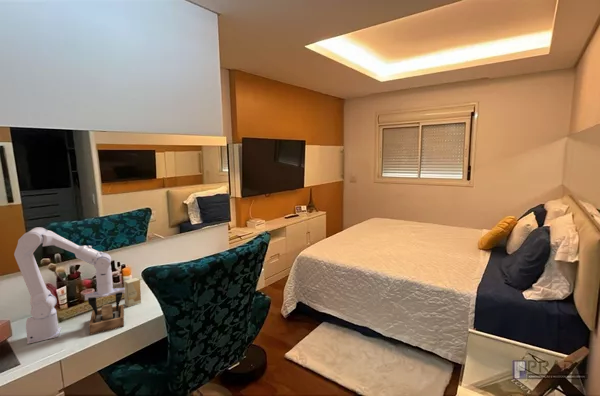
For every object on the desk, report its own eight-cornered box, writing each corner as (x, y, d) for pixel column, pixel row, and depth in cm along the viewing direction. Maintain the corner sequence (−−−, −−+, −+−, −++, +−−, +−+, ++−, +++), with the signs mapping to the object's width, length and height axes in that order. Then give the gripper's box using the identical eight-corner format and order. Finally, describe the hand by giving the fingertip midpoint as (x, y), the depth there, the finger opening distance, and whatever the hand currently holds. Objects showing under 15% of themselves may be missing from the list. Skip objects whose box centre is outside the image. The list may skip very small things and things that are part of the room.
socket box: (89, 334, 124) (89, 325, 123) (93, 319, 136) (92, 310, 135) (123, 326, 130) (123, 317, 129) (124, 312, 142) (123, 304, 141)
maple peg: (102, 324, 130) (101, 309, 129) (102, 320, 134) (101, 305, 133) (113, 322, 132) (112, 306, 131) (113, 318, 136) (112, 303, 135)
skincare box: (128, 307, 147) (126, 283, 145) (124, 304, 149) (122, 281, 148) (142, 302, 152) (140, 279, 150) (137, 300, 155) (136, 277, 153)
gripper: (83, 288, 124) (85, 320, 125) (124, 281, 131) (126, 311, 132) (85, 282, 130) (87, 312, 131) (124, 276, 137) (126, 305, 138)
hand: (107, 311), depth 132 cm, fingers open, 7 cm apart
